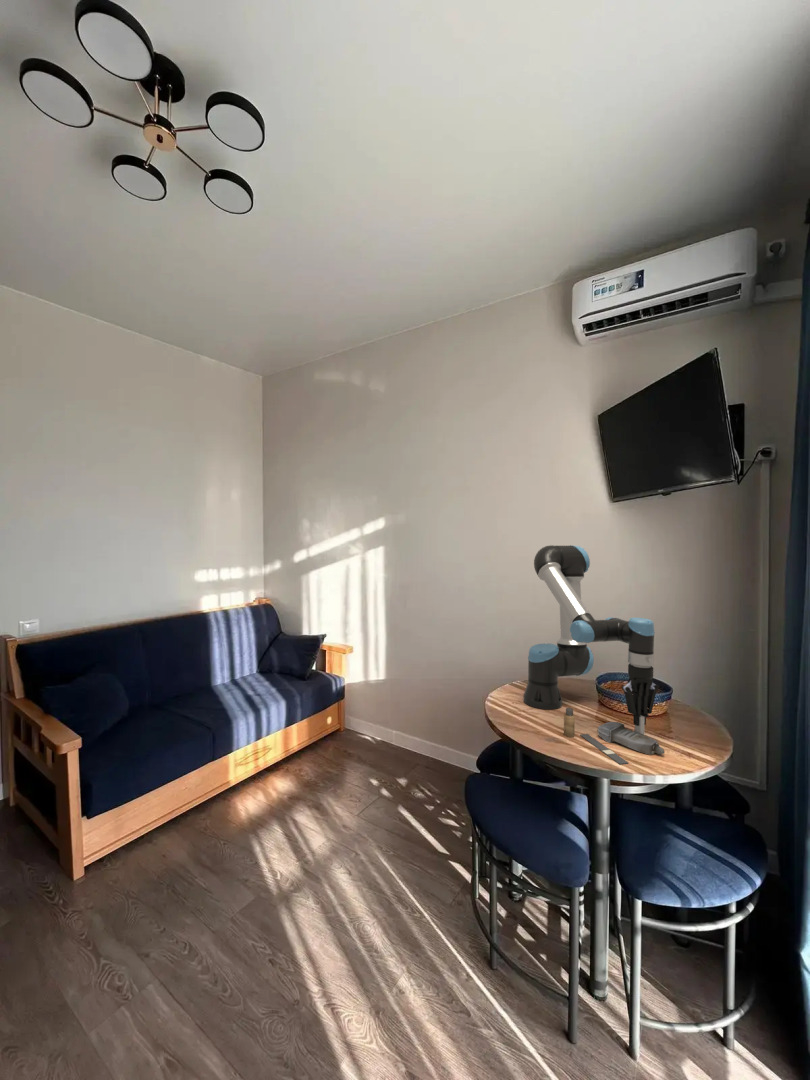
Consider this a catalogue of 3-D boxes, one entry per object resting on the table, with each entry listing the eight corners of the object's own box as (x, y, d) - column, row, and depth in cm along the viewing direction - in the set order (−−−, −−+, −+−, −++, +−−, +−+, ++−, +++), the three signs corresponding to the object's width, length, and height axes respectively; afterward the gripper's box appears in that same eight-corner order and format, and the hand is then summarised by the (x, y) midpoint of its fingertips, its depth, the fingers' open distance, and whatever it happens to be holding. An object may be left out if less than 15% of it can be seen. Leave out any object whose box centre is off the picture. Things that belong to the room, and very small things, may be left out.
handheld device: (657, 762, 136) (658, 747, 136) (595, 738, 152) (595, 725, 152) (670, 753, 142) (670, 738, 142) (608, 731, 158) (609, 718, 158)
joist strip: (579, 735, 153) (579, 734, 153) (587, 734, 154) (587, 733, 154) (619, 764, 134) (619, 763, 134) (628, 763, 134) (628, 762, 134)
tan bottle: (561, 733, 155) (562, 707, 155) (570, 732, 156) (571, 706, 156) (567, 737, 151) (567, 711, 151) (576, 736, 152) (576, 710, 152)
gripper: (632, 669, 145) (630, 741, 145) (665, 666, 148) (664, 737, 148) (616, 662, 152) (615, 731, 153) (648, 660, 155) (647, 728, 156)
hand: (639, 734), depth 150 cm, fingers closed
